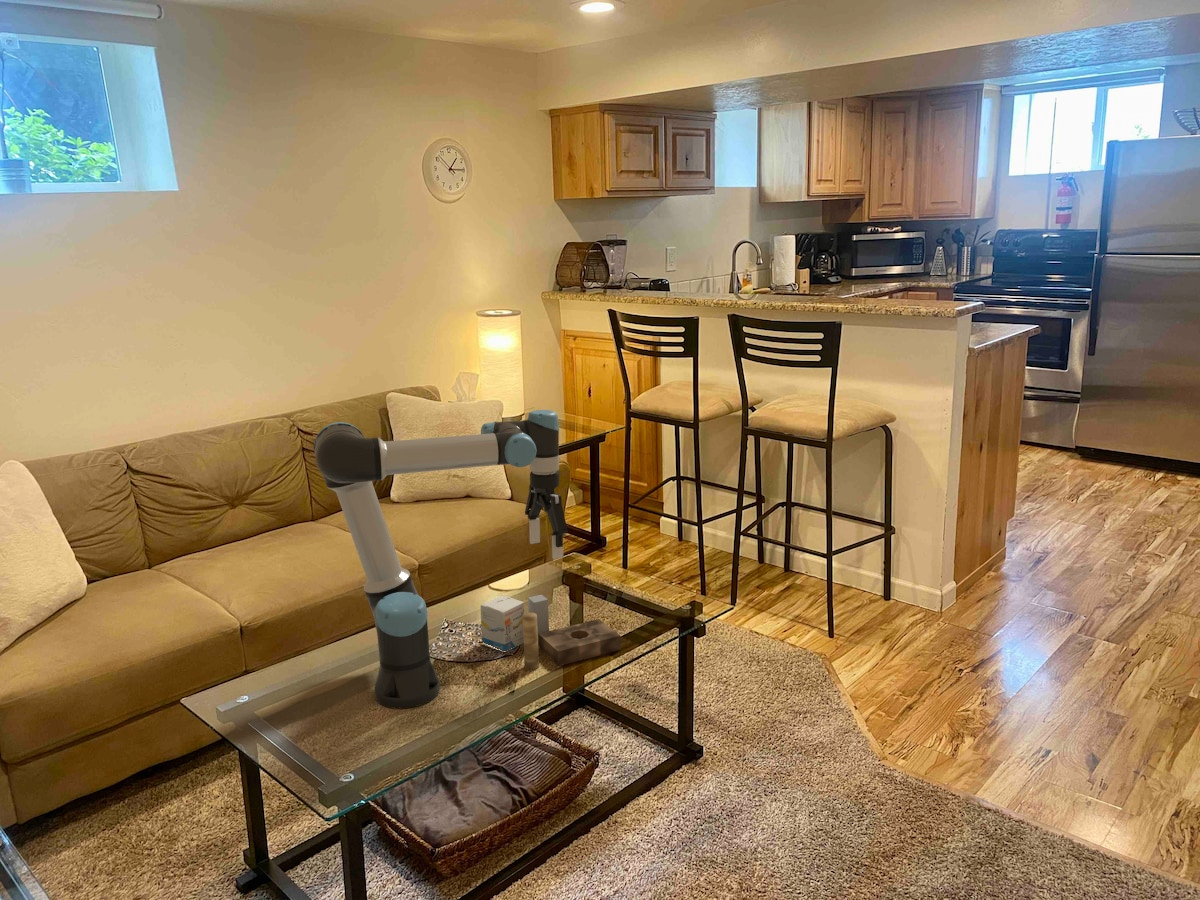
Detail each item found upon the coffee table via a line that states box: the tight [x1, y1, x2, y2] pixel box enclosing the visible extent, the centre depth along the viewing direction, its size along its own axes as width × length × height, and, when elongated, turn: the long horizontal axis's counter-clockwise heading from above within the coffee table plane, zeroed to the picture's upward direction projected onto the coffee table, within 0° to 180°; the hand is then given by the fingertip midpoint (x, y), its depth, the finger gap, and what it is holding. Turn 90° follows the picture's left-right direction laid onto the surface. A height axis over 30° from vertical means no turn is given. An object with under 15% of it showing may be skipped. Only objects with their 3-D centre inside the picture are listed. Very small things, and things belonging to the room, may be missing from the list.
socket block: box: [538, 618, 622, 667], centre depth 232 cm, size 18×12×4 cm, turn 118°
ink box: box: [480, 595, 525, 651], centre depth 235 cm, size 9×8×12 cm
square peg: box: [527, 594, 550, 645], centre depth 237 cm, size 4×4×12 cm
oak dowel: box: [522, 611, 540, 671], centre depth 221 cm, size 4×4×14 cm
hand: (546, 550), depth 230 cm, fingers open, 13 cm apart
